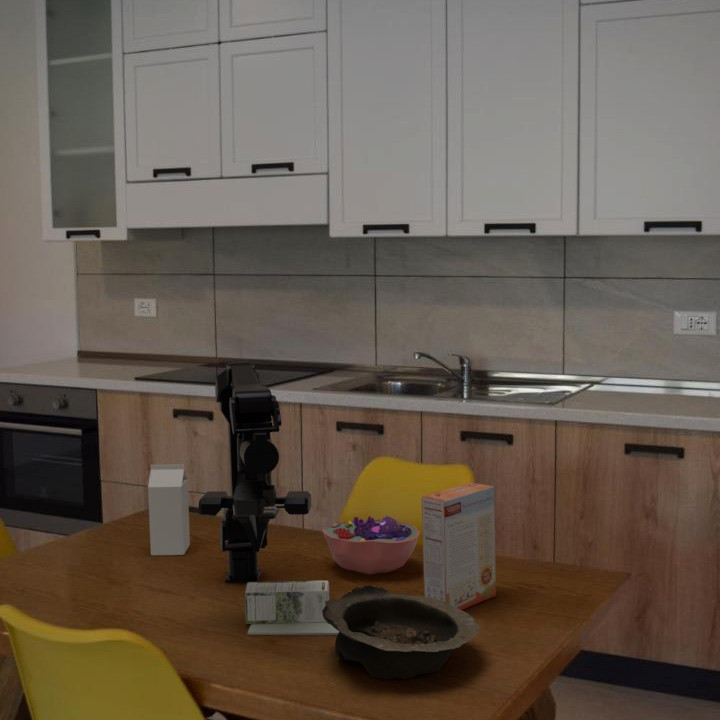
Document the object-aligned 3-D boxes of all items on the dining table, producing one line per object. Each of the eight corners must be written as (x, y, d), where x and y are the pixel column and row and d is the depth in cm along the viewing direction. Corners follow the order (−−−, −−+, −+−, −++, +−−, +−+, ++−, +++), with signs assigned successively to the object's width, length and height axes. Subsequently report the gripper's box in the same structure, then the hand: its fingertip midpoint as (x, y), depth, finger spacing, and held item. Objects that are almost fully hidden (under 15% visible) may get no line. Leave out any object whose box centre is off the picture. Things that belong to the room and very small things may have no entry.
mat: (259, 609, 186) (258, 607, 186) (348, 610, 185) (347, 608, 185) (247, 634, 174) (247, 632, 174) (342, 635, 173) (342, 632, 173)
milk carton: (184, 555, 220) (180, 467, 218) (150, 556, 220) (147, 468, 218) (190, 546, 227) (186, 460, 225) (157, 546, 227) (154, 461, 225)
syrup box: (247, 613, 183) (329, 610, 184) (245, 625, 177) (330, 622, 178) (246, 581, 183) (329, 579, 183) (244, 592, 177) (329, 590, 177)
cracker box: (471, 590, 195) (470, 480, 192) (497, 597, 190) (496, 485, 188) (421, 609, 185) (419, 494, 183) (447, 617, 181) (446, 499, 178)
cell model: (345, 553, 220) (344, 501, 218) (433, 564, 211) (433, 510, 210) (307, 576, 204) (305, 520, 203) (400, 589, 196) (399, 531, 194)
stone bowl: (292, 649, 167) (294, 593, 166) (422, 631, 179) (424, 578, 178) (368, 704, 145) (371, 640, 145) (510, 679, 158) (513, 619, 157)
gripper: (189, 473, 170) (193, 565, 171) (303, 472, 168) (305, 566, 170) (204, 459, 181) (207, 546, 182) (310, 458, 179) (312, 546, 181)
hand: (257, 551), depth 179 cm, fingers closed
